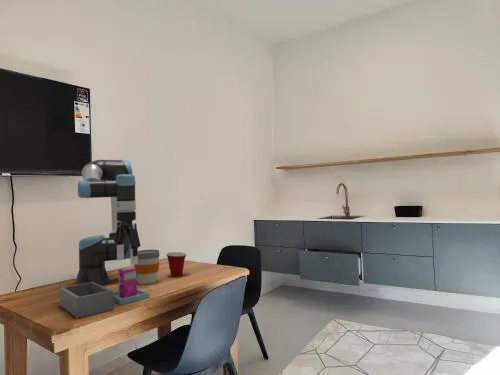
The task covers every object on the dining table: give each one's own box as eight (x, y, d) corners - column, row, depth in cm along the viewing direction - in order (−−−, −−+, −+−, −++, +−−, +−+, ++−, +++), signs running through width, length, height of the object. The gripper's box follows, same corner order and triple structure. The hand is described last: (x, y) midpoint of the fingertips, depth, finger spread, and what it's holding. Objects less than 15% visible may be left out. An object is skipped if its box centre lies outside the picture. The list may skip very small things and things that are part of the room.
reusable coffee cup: (164, 279, 172) (164, 249, 173) (152, 285, 160) (151, 253, 160) (142, 278, 175) (142, 249, 175) (128, 284, 163) (128, 253, 163)
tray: (106, 297, 141) (106, 293, 141) (134, 291, 149) (134, 287, 149) (120, 304, 131) (120, 299, 131) (149, 297, 139) (149, 293, 139)
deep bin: (60, 305, 132) (59, 287, 132) (93, 298, 141) (92, 281, 141) (77, 318, 117) (76, 298, 117) (113, 309, 125) (112, 290, 125)
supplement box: (118, 296, 140) (117, 269, 141) (132, 293, 144) (131, 266, 145) (123, 299, 136) (123, 271, 136) (137, 296, 140) (137, 268, 140)
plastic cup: (185, 277, 173) (184, 254, 174) (164, 278, 174) (163, 254, 174) (189, 273, 184) (188, 251, 185) (169, 273, 185) (169, 251, 185)
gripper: (105, 210, 148) (106, 259, 147) (130, 212, 130) (131, 267, 129) (122, 210, 153) (123, 256, 153) (148, 211, 135) (149, 264, 135)
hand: (127, 262), depth 141 cm, fingers open, 13 cm apart
